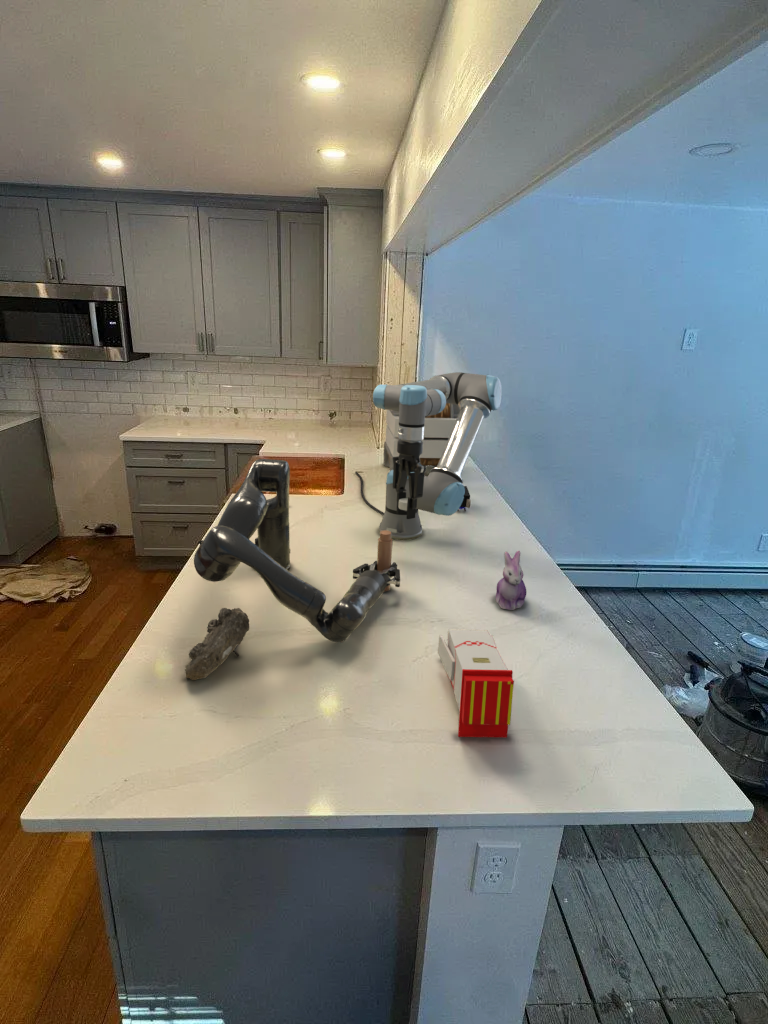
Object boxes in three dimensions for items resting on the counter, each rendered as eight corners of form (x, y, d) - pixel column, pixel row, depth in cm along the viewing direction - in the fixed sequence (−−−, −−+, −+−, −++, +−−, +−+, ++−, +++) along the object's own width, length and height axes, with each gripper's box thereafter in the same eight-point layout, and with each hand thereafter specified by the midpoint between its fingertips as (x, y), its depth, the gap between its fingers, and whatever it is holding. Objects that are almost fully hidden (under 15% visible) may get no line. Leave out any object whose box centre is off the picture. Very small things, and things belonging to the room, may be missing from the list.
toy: (488, 613, 130) (523, 677, 101) (484, 667, 133) (517, 744, 104) (435, 612, 130) (455, 676, 101) (432, 666, 133) (451, 743, 103)
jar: (374, 590, 159) (377, 534, 153) (377, 584, 163) (379, 528, 157) (388, 592, 158) (391, 535, 153) (391, 586, 162) (394, 530, 156)
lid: (416, 509, 171) (417, 501, 170) (403, 511, 168) (404, 503, 168) (408, 504, 175) (408, 497, 174) (395, 506, 172) (395, 499, 171)
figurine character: (470, 516, 223) (465, 500, 237) (473, 499, 220) (467, 484, 233) (453, 516, 223) (449, 500, 236) (455, 498, 220) (451, 483, 233)
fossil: (204, 611, 136) (249, 581, 131) (232, 638, 139) (276, 610, 134) (164, 674, 117) (215, 642, 112) (197, 704, 120) (248, 674, 115)
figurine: (508, 614, 149) (515, 562, 144) (485, 597, 158) (490, 547, 153) (536, 607, 153) (543, 557, 148) (511, 591, 162) (518, 542, 157)
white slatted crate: (382, 463, 289) (386, 382, 275) (445, 464, 293) (451, 384, 279) (390, 482, 257) (394, 392, 243) (460, 483, 261) (468, 394, 247)
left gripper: (340, 597, 149) (363, 571, 164) (392, 608, 145) (410, 580, 160) (341, 572, 146) (364, 547, 162) (393, 582, 142) (412, 556, 158)
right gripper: (382, 435, 169) (379, 508, 177) (418, 447, 156) (413, 526, 164) (403, 433, 173) (398, 505, 181) (439, 445, 160) (433, 522, 168)
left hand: (387, 564), depth 161 cm, fingers closed on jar, 4 cm apart
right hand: (405, 515), depth 172 cm, fingers closed on lid, 4 cm apart
